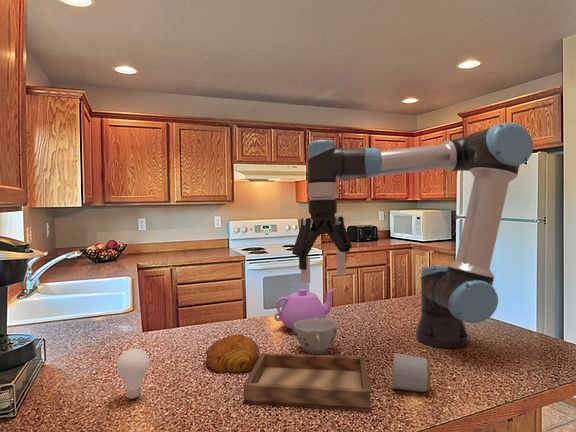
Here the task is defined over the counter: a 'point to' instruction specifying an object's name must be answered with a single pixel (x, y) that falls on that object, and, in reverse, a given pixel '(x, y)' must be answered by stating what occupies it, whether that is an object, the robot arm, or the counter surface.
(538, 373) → the counter surface
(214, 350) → the croissant
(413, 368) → the ceramic mug
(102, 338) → the counter surface
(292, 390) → the tray
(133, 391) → the light bulb
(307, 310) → the teapot
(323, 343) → the teacup
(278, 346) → the counter surface
